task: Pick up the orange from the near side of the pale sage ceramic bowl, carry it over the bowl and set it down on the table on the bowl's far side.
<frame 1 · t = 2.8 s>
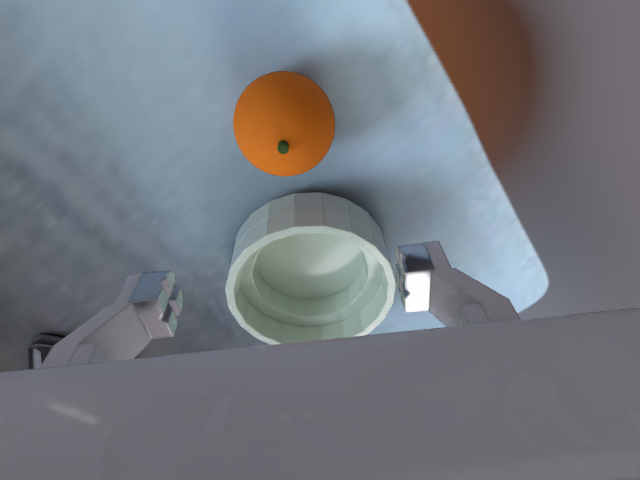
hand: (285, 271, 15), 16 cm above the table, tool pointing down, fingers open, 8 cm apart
bowl: (309, 253, 35), on the table
phone: (79, 385, 43), on the table
orange: (284, 125, 25), point 3 cm above the table
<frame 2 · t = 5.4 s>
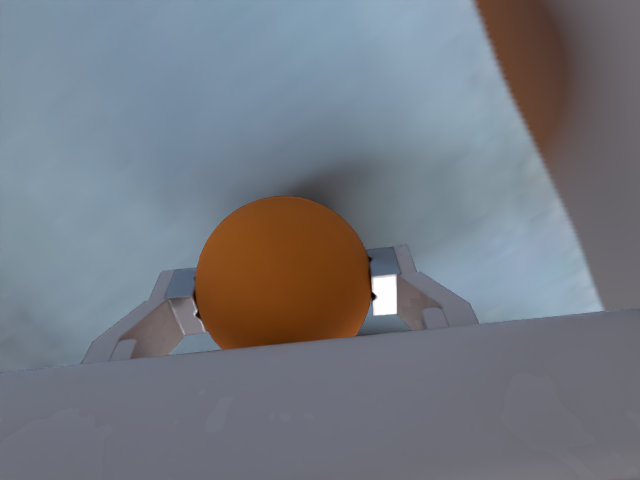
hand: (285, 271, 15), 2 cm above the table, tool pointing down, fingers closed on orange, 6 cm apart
orange: (285, 282, 15), point 3 cm above the table, touching gripper
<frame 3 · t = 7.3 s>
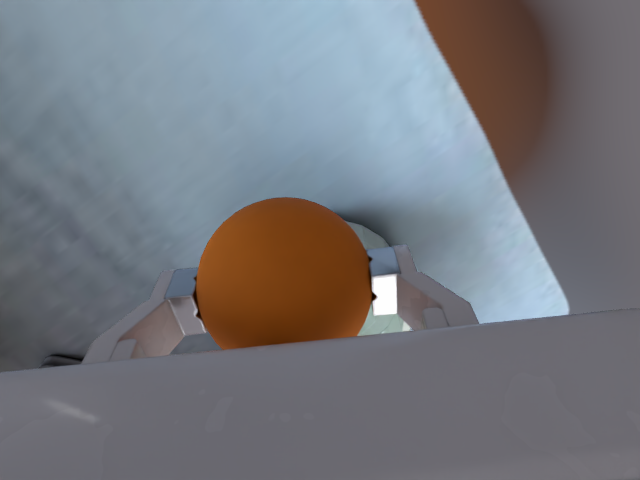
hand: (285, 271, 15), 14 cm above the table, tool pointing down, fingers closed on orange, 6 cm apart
bowl: (323, 279, 34), on the table
phone: (87, 406, 43), on the table
orange: (286, 284, 15), point 15 cm above the table, touching gripper
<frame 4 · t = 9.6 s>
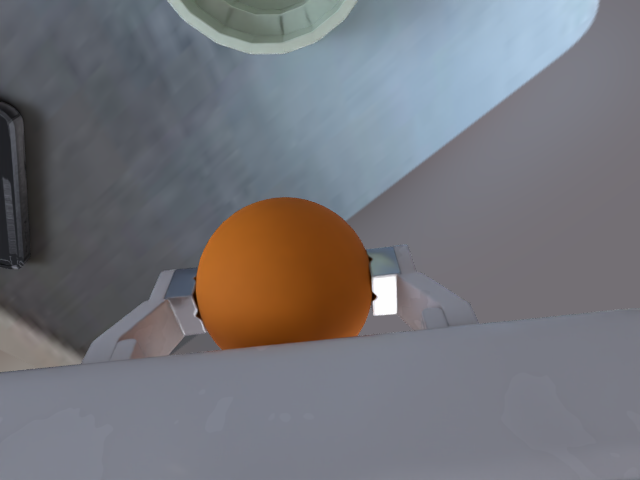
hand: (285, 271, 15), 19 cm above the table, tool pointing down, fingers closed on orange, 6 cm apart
orange: (285, 284, 15), point 20 cm above the table, touching gripper
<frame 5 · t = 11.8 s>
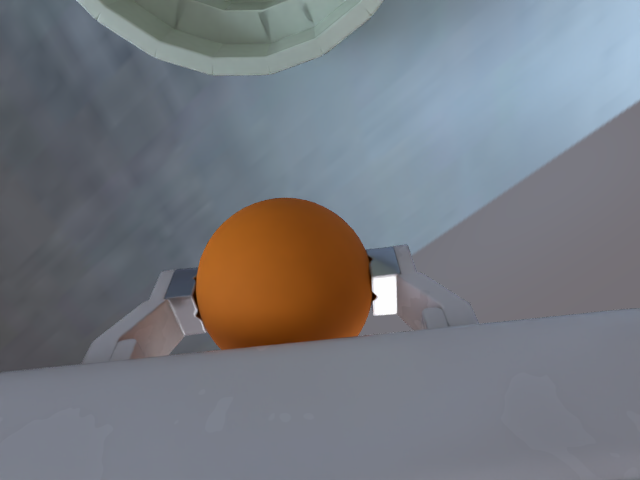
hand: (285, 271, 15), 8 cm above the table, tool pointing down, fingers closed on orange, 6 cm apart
orange: (285, 284, 15), point 9 cm above the table, touching gripper
when the fingers open (2 cm above the table, at t = 13.8 s): orange stays where it is, point 3 cm above the table.
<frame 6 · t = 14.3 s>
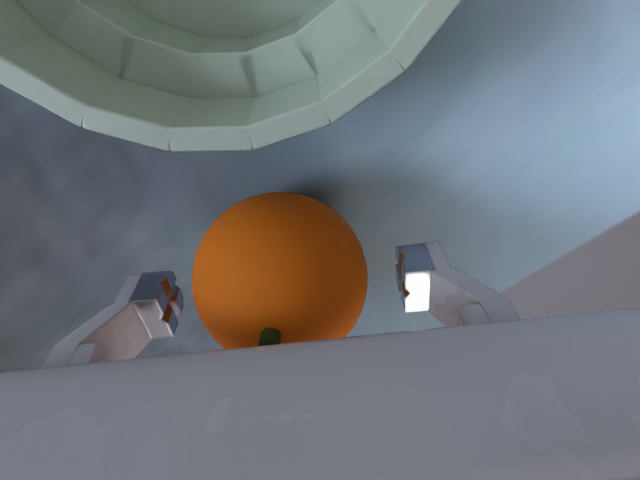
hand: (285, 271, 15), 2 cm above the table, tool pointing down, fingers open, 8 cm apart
orange: (281, 278, 15), point 3 cm above the table, tilted 8°
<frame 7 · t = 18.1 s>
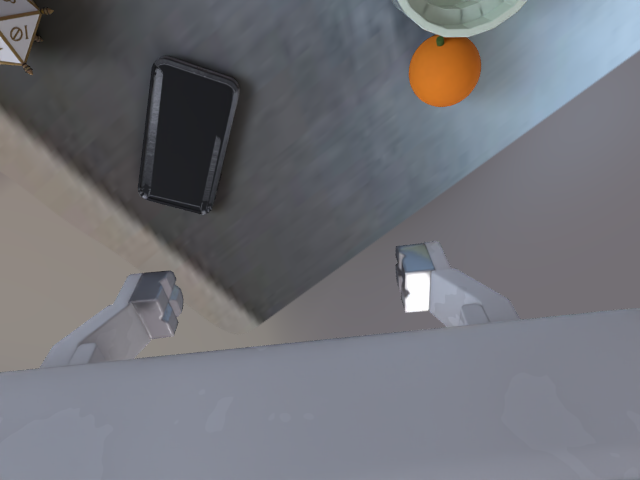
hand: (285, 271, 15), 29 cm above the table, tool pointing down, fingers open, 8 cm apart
phone: (188, 140, 43), on the table
orange: (444, 70, 37), point 3 cm above the table, tilted 63°, touching bowl
game die: (13, 7, 36), on the table
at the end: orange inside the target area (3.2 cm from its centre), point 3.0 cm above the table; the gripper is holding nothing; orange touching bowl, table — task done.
